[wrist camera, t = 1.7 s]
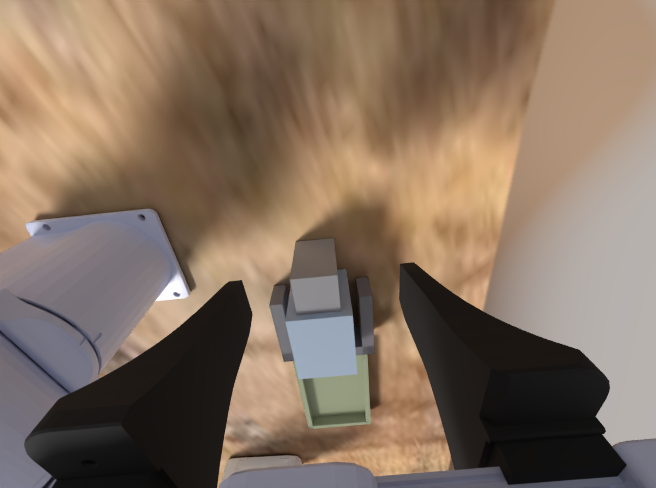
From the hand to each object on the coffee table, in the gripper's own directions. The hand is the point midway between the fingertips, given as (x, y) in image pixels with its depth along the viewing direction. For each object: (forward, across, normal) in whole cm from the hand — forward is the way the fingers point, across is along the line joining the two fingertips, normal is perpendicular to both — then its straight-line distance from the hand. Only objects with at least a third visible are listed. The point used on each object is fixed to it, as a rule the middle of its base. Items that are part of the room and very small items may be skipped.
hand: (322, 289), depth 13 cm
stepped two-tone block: (+9, +1, +7) cm, 11 cm away
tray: (+9, +1, +20) cm, 22 cm away
